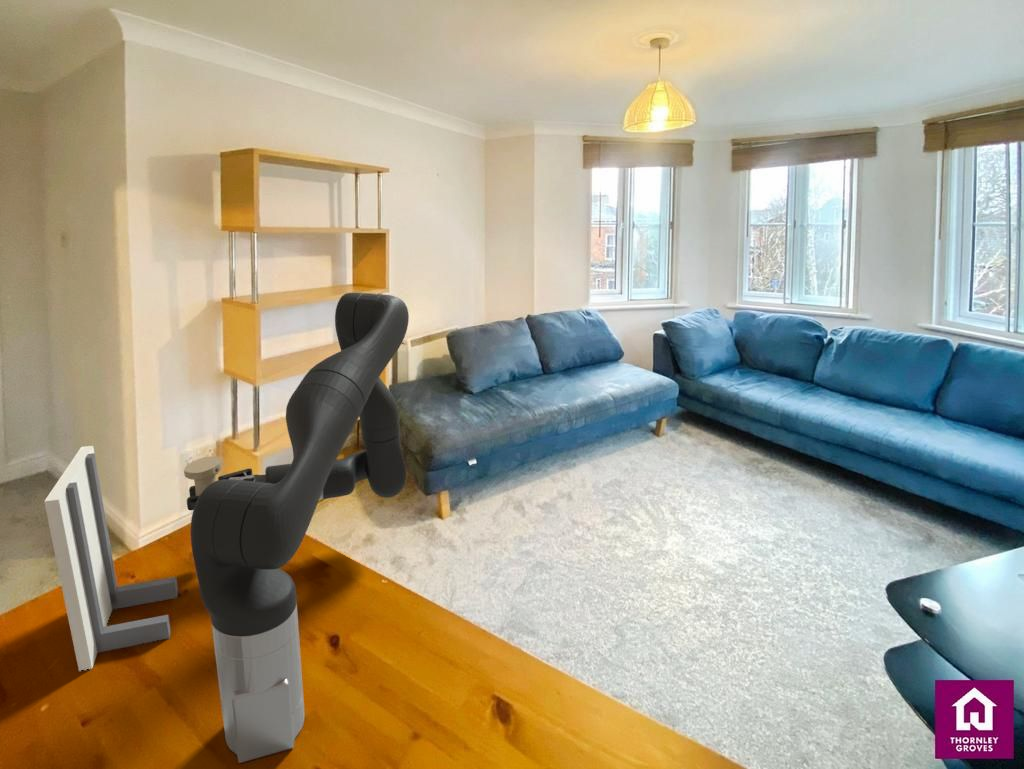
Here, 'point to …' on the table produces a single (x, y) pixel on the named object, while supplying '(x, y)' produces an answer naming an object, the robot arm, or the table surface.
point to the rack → (96, 568)
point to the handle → (203, 472)
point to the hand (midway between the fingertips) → (189, 498)
